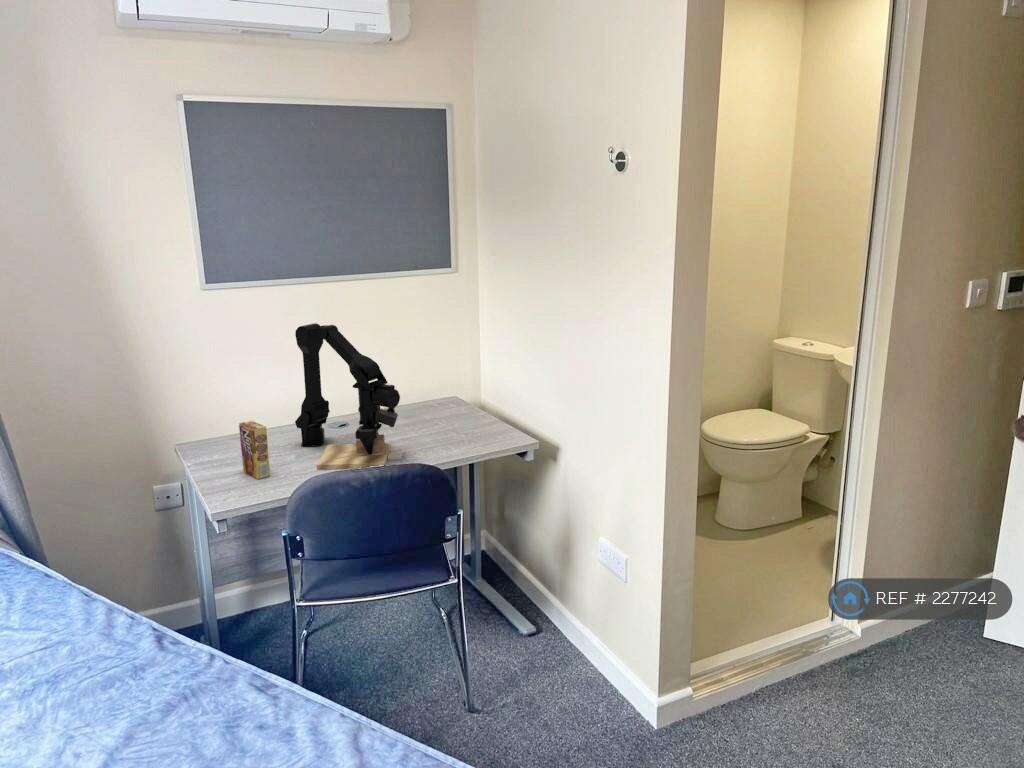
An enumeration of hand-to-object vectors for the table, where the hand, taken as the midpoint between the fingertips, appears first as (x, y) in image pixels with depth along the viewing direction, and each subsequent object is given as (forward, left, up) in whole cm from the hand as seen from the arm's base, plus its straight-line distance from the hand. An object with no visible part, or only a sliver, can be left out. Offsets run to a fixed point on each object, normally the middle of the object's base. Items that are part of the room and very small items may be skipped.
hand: (371, 451), depth 232 cm
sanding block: (0, 0, -1) cm, 1 cm away
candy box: (-32, -11, -2) cm, 34 cm away
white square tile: (+7, 0, -3) cm, 8 cm away
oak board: (-5, 0, -2) cm, 6 cm away
